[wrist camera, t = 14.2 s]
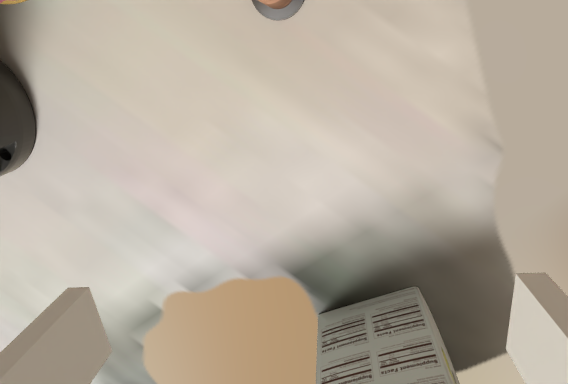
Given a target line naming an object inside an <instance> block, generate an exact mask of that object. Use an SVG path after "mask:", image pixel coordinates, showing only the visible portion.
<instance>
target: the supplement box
mask: <svg viewBox="0 0 568 384" xmlns="http://www.w3.org/2000/svg"><path fill="white" fill-rule="evenodd" d="M317 339H318V340H317V366H316V384H459V381H458V378H457V376H456V373H455V370H454V367H453V365H452V362H451V360H450V357H449V355H448V352H447V349H446V347H445V345H444V342H443V340H442V337H441V335H440V333H439V330H438V328H437V325H436V323H435V321H434V318H433V316H432V314H431V312H430V310H429V307H428V305H427V303H426V301H425V299H424V297H423V295H422V294H421V292H420V290H419V288H418V287H415V286H414V287H410V288H406V289H403V290H399V291H396V292H393V293H389V294H386V295H382V296H379V297H376V298H372V299H369V300H365V301H362V302H359V303H355V304H352V305H348V306H345V307H342V308H338V309H335V310H332V311H329V312H325V313H322V314H319V315H318V336H317Z"/></svg>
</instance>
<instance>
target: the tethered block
mask: <svg viewBox="0 0 568 384" xmlns="http://www.w3.org/2000/svg"><path fill="white" fill-rule="evenodd" d="M252 2H253V4H254V6H255V8H256V9H257V10H258V11H259V12H260V13H261V14H262V15H263V16H265V17H267V18H269V19H272V20H285V19H288V18H290V17H292V16H293V15H294V14H295V13H297V11H298V10H299V9H300V8H301V6H302V4H303V2H304V0H252Z"/></svg>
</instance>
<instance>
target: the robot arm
mask: <svg viewBox="0 0 568 384" xmlns="http://www.w3.org/2000/svg"><path fill="white" fill-rule="evenodd" d="M34 141H35V119H34V114H33V110H32V107H31V104H30V101H29V99H28V97H27V94H26V93H25V91H24V89H23V87H22V85H21V84H20V82H19V81H18V79H17V78H16V77H15V75H14V74H13V73H12V72H11V71H10V69H9V68H8V67H7V66H6V65H5V64H4V63H3V62H2V61H0V176H2V175H4V174H6V173H9V172H11V171H13V170H15V169H17V168H18V167H20V166H21V165H22V164H23V163H24V162H25V161H26V160H27V158H28V157H29V155H30V153H31V151H32V148H33V145H34ZM506 350H507V352H508V354H509V356H510V357H511V359H512V361H513V363H514V364H515V366H516V368H517V370H518V371H519V373H520V375H521V377H522V378H523V380H524V382H525V384H568V296H567V295H566V294H565V293H564V292H563V291H562V290H561V289H560V288H559V287H558V285H557V284H556V283H555V282H554V281H553V280H552V279H551V278H550V277H549V276H548V275H547V274H546V273H520V274H516V277H515V284H514V291H513V299H512V306H511V314H510V321H509V329H508V336H507V344H506ZM111 353H112V349H111V346H110V343H109V341H108V338H107V335H106V333H105V330H104V327H103V324H102V322H101V319H100V316H99V313H98V311H97V308H96V305H95V302H94V300H93V297H92V294H91V291H90V289H89V287H79V288H67V289H66V290H65V291H64V292H63V293H62V294H61V295H60V296H59V297H58V298H57V299H56V300H55V301H54V302H53V303H52V304H51V305H50V306H48V307H47V308H46V309H45V310H44V311H43V312H42V313H41V314H40V315H39V316H38V317H37V318H36V319H35V320H34V321H33V322H32V323H31V324H30V325H29V326H28V327H27V328H26V329H24V330H23V331H22V332H21V333H20V334H19V335H18V336H17V337H16V338H15V339H14V340H13V341H12V342H11V343H10V344H9V345H8V346H7V347H6V348H5V349H4V350H3V351H2V352H0V384H90V383H91V382H92V380H93V379H94V377H95V376H96V374H97V373H98V371H99V370H100V368H101V367H102V366H103V364H104V363H105V361H106V360H107V358H108V357H109V355H110V354H111Z"/></svg>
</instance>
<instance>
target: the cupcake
mask: <svg viewBox="0 0 568 384" xmlns="http://www.w3.org/2000/svg"><path fill="white" fill-rule="evenodd" d="M24 1H27V0H0V4H16V3H21V2H24Z"/></svg>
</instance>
